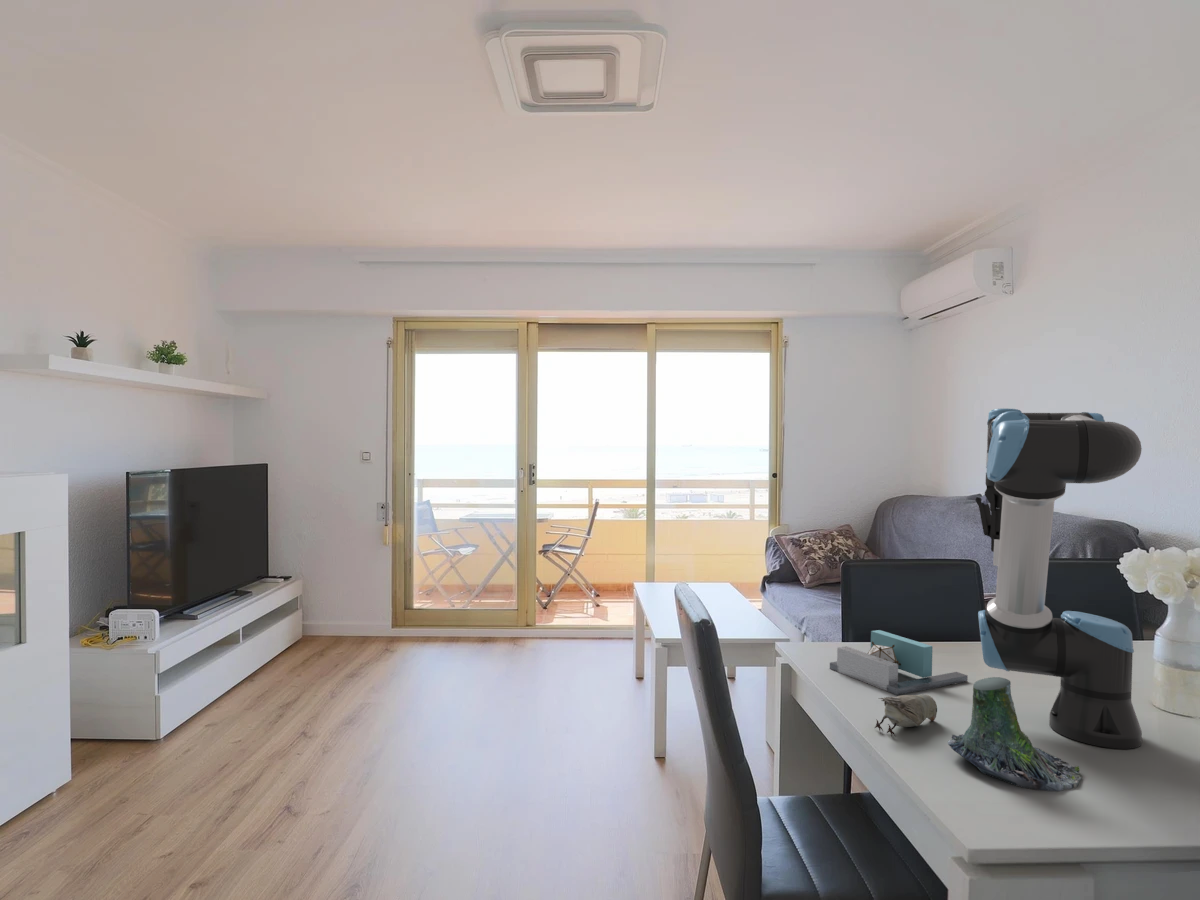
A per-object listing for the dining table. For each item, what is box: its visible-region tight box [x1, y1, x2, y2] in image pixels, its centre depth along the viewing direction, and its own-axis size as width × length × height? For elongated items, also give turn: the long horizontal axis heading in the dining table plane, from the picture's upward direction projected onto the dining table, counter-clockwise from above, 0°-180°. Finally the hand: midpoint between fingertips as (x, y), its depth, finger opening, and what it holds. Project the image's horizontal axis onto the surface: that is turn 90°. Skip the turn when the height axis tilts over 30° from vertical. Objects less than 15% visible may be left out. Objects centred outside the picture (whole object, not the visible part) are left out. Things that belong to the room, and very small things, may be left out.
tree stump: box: [947, 676, 1083, 792], centre depth 125 cm, size 18×20×18 cm
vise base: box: [829, 646, 968, 696], centre depth 176 cm, size 21×24×6 cm
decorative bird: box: [874, 693, 938, 738], centre depth 142 cm, size 5×16×8 cm, turn 120°
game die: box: [866, 642, 901, 665], centre depth 174 cm, size 9×8×10 cm
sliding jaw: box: [870, 629, 933, 678], centre depth 176 cm, size 16×3×7 cm, turn 26°
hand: (999, 565), depth 175 cm, fingers closed
